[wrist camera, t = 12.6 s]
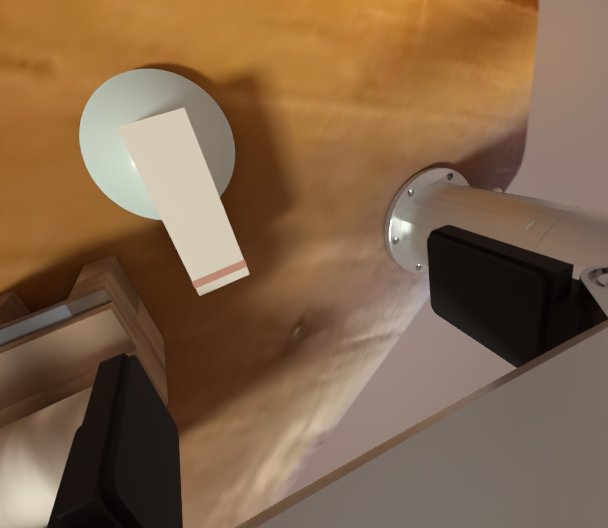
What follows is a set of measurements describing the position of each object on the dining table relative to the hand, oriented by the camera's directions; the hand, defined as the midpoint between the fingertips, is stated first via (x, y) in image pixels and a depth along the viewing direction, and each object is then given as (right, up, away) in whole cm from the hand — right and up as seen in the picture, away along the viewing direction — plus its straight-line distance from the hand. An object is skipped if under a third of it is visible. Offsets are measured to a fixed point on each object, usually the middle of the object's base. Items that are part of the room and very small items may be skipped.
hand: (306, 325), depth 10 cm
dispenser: (-19, -3, +19) cm, 27 cm away
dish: (-11, +11, +17) cm, 23 cm away
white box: (-10, +7, +18) cm, 21 cm away
